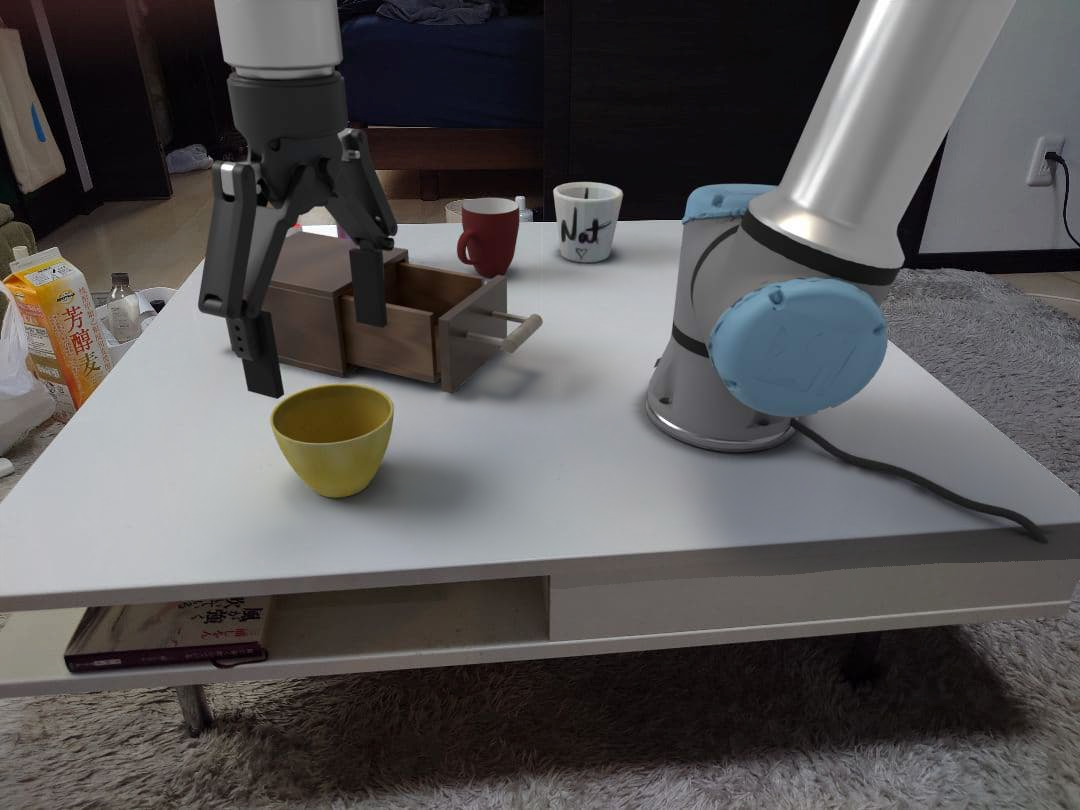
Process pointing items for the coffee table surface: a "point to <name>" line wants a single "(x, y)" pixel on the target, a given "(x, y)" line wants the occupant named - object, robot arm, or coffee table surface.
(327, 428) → the yellow bowl
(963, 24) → the robot arm
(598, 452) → the coffee table surface
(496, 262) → the mug
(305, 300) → the cabinet
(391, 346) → the drawer
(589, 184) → the mug
